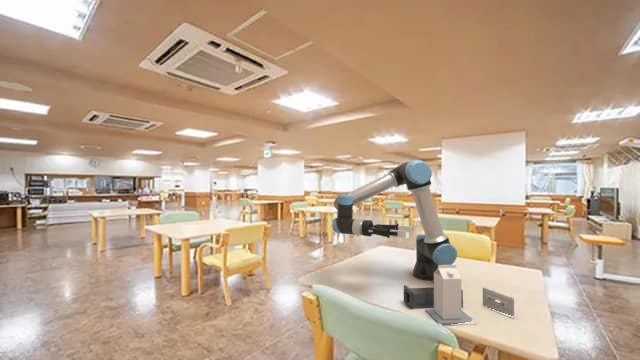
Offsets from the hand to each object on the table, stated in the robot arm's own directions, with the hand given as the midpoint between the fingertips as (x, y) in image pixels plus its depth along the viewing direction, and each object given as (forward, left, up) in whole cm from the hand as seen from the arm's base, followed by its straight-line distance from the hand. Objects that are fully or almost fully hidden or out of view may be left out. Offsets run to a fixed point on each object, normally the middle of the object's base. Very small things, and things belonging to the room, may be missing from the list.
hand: (409, 231), depth 117 cm
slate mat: (-9, +15, -30) cm, 35 cm away
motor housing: (-8, +4, -30) cm, 31 cm away
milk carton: (-9, +15, -29) cm, 34 cm away
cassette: (-31, +12, -30) cm, 45 cm away
